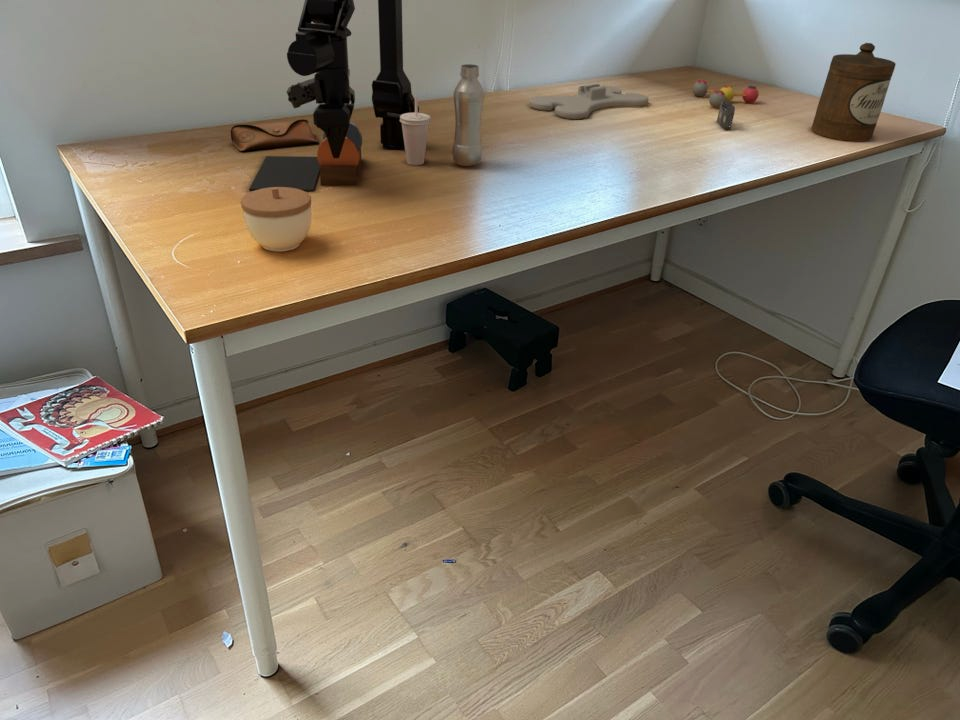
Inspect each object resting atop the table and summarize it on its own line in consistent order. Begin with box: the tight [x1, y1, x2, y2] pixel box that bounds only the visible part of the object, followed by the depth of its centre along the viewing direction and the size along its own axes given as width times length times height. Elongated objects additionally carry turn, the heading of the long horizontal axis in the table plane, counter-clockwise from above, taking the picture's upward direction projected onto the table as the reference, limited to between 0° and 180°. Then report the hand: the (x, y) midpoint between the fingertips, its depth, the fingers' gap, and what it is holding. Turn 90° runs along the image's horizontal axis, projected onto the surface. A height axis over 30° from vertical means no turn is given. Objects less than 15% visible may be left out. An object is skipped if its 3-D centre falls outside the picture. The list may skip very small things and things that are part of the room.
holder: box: [528, 83, 649, 120], centre depth 204 cm, size 19×34×5 cm, turn 130°
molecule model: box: [692, 79, 760, 109], centre depth 214 cm, size 18×17×5 cm
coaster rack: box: [319, 148, 363, 187], centre depth 149 cm, size 16×7×4 cm, turn 5°
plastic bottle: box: [451, 63, 485, 167], centre depth 152 cm, size 6×7×20 cm
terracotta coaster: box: [316, 137, 359, 166], centre depth 142 cm, size 1×8×8 cm, turn 95°
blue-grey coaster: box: [322, 121, 363, 150], centre depth 152 cm, size 1×8×8 cm, turn 95°
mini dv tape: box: [716, 99, 736, 131], centre depth 191 cm, size 8×2×6 cm, turn 179°
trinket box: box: [240, 187, 312, 253], centre depth 117 cm, size 11×11×9 cm
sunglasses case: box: [230, 118, 319, 152], centre depth 164 cm, size 18×7×7 cm
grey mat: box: [248, 155, 320, 192], centre depth 147 cm, size 12×20×1 cm, turn 5°
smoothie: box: [400, 94, 431, 166], centre depth 153 cm, size 6×6×14 cm
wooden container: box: [811, 42, 897, 142], centre depth 185 cm, size 15×15×22 cm
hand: (338, 150), depth 142 cm, fingers open, 9 cm apart
